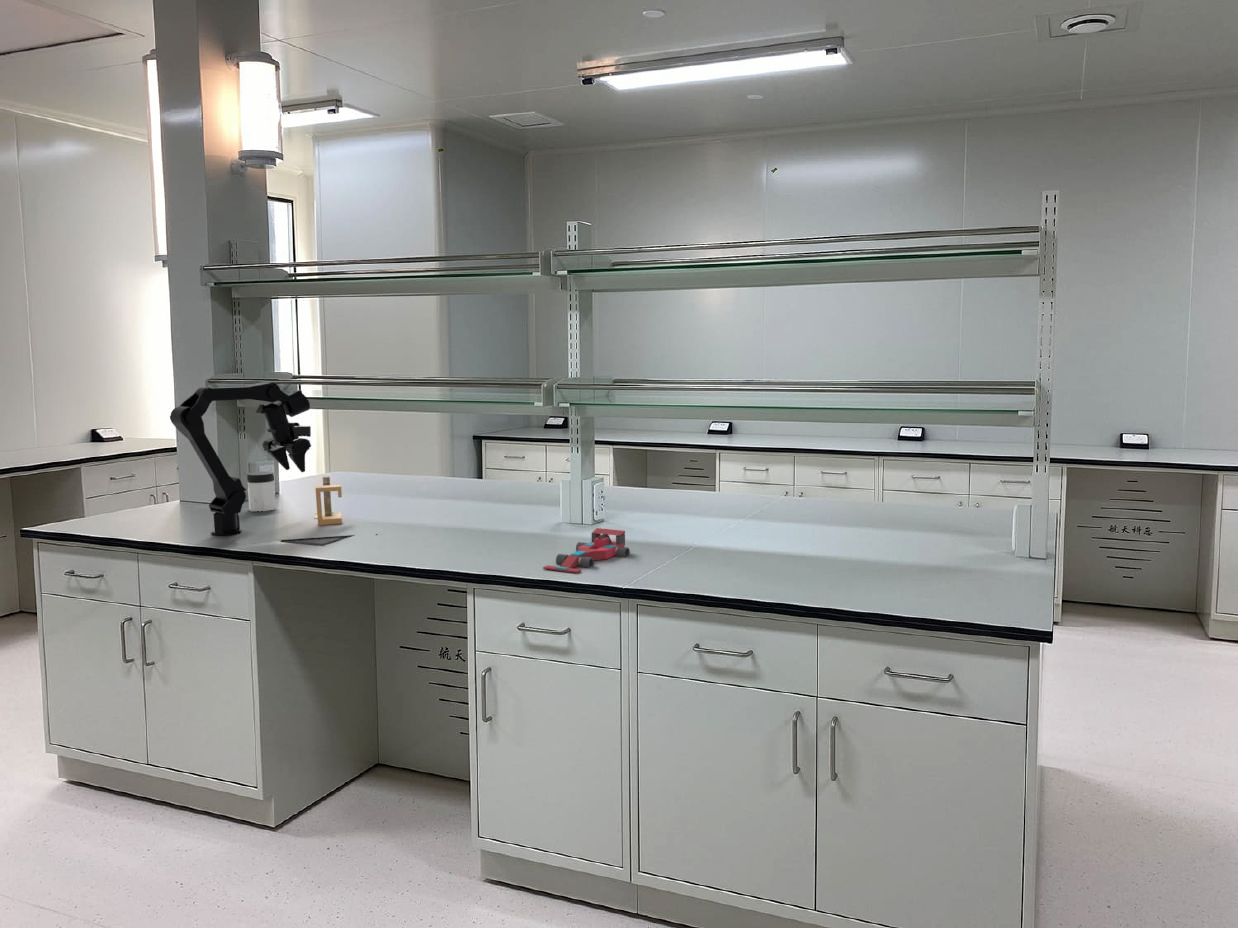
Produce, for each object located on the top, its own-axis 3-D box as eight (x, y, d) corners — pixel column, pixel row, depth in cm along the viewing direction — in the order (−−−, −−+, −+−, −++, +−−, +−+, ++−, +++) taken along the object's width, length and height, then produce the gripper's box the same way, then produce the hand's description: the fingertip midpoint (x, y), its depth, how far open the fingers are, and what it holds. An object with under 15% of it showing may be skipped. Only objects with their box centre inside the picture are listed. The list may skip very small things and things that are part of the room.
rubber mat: (322, 545, 262) (322, 543, 262) (281, 542, 267) (281, 540, 267) (355, 535, 275) (355, 533, 275) (315, 532, 280) (315, 530, 280)
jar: (243, 511, 314) (240, 475, 313) (255, 507, 323) (252, 471, 321) (270, 511, 314) (267, 475, 312) (281, 507, 322) (278, 471, 320)
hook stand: (313, 529, 284) (310, 485, 282) (315, 517, 303) (312, 475, 301) (341, 527, 286) (339, 483, 284) (342, 515, 305) (339, 474, 303)
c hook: (318, 525, 285) (315, 488, 284) (318, 522, 289) (315, 486, 287) (343, 523, 287) (341, 486, 285) (343, 520, 291) (341, 484, 289)
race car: (533, 545, 232) (587, 526, 254) (534, 570, 233) (587, 549, 255) (584, 551, 225) (635, 531, 247) (585, 577, 226) (635, 554, 248)
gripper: (317, 414, 288) (334, 462, 293) (286, 412, 301) (303, 458, 306) (284, 427, 281) (302, 477, 286) (254, 425, 294) (271, 472, 299)
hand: (295, 470), depth 294 cm, fingers open, 9 cm apart
